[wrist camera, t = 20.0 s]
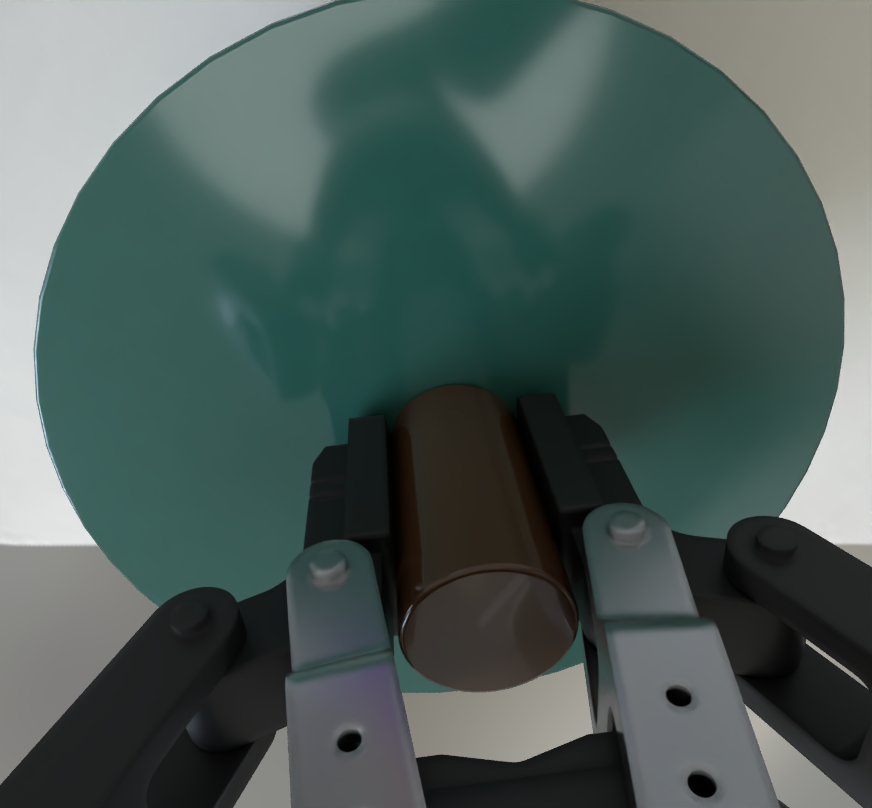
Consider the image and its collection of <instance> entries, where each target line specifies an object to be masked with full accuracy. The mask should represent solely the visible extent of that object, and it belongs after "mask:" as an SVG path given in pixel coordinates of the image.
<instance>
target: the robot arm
mask: <svg viewBox="0 0 872 808" xmlns="http://www.w3.org/2000/svg"><path fill="white" fill-rule="evenodd" d="M516 409H517V425H518V428H519V431H520V434H521V437H522V440H523V443H524V446H525V449H526V452H527V455H528V458H529V461H530V464H531V467H532V470H533V473H534V476H535V479H536V482H537V485H538V488H539V491H540V494H541V497H542V500H543V503H544V506H545V509H546V512H547V515H548V518H549V521H550V524H551V527H552V530H553V533H554V536H555V539H556V542H557V545H558V548H559V551H560V554H561V557H562V560H563V563H564V566H565V569H566V572H567V575H568V578H569V581H570V584H571V587H572V590H573V593H574V596H575V599H576V602H577V606H578V609H579V620H580V623H581V649H582V656H583V663H584V670H585V677H586V684H587V692H588V699H589V706H590V713H591V720H592V728H593V734H588V735H586V736H583V737H581V738H578V739H576V740H573V741H571V742H569V743H566V744H564V745H561V746H559V747H557V748H554V749H551V750H549V751H547V752H544V753H542V754H539V755H537V756H535V757H532V758H530V759H527V760H525V761H521V762H513V763H512V762H502V761H494V760H485V759H476V758H467V757H459V756H450V755H435V756H427V757H419V758H416V757H415V752H414V748H413V743H412V738H411V734H410V730H409V725H408V721H407V715H406V711H405V706H404V702H403V697H402V692H401V688H400V683H399V678H398V674H397V669H396V665H395V660H394V636H398V623H397V600H396V558H395V537H394V516H393V495H392V474H391V453H390V437H389V430H388V424H387V419H386V415H385V414H380V415H372V416H364V417H356V418H349V422H348V444H341V445H334V446H326V447H325V448H324V449H323V450H322V452H321V453H320V454H319V456H318V457H317V459H316V460H315V461H314V463H313V467H312V476H311V485H310V494H309V497H310V499H309V503H308V512H307V520H306V529H305V538H304V547H303V551H302V552H301V553H300V554H298V555H297V556H296V557H295V558H294V560H293V561H292V562H291V564H290V566H289V567H288V570H287V573H286V579H285V580H284V581H283V582H281V583H280V584H279V585H277V586H275V587H273V588H272V589H270V590H267V591H265V592H263V593H260V594H258V595H255V596H252V597H250V598H247V599H245V600H242V601H239V602H237V601H236V599H235V598H234V596H233V595H232V594H231V593H229V592H228V591H226V590H224V589H221V588H216V587H200V588H195V589H190V590H187V591H185V592H182V593H180V594H178V595H176V596H174V597H172V598H171V599H169V600H168V601H166V602H165V603H164V604H162V605H161V606H160V607H159V608H158V609H157V610H156V611H155V612H154V613H153V614H152V615H151V617H150V618H149V619H148V620H147V621H146V622H145V623H144V624H143V626H142V627H141V628H140V629H139V630H138V631H137V632H136V633H135V635H134V636H133V637H132V638H131V639H130V640H129V641H128V642H127V644H126V645H125V646H124V647H123V648H122V649H121V650H120V651H119V653H118V654H117V655H116V656H115V657H114V658H113V659H112V660H111V662H110V663H109V664H108V665H107V666H106V667H105V668H104V669H103V671H102V672H101V673H100V674H99V675H98V676H97V677H96V678H95V679H94V681H93V682H92V683H91V684H90V685H89V686H88V687H87V688H86V689H85V691H84V692H83V693H82V694H81V695H80V696H79V698H78V699H77V700H76V701H75V702H74V703H73V704H72V705H71V706H70V707H69V709H68V710H67V711H66V712H65V713H64V714H63V715H62V717H61V718H60V719H59V720H58V721H57V722H56V723H55V724H54V725H53V727H52V728H51V729H50V730H49V731H48V732H47V733H46V734H45V736H44V737H43V738H42V739H41V740H40V741H39V742H38V743H37V744H36V746H35V747H34V748H33V749H32V750H31V751H30V752H29V754H28V755H27V756H26V757H25V758H24V759H23V760H22V761H21V763H20V764H19V765H18V766H17V767H16V768H15V769H14V770H13V771H12V772H11V774H10V775H9V776H8V777H7V778H6V779H5V780H4V781H3V783H2V784H1V785H0V808H233V807H234V805H235V803H236V802H237V800H238V799H239V797H240V795H241V793H242V792H243V790H244V789H245V787H246V785H247V783H248V781H249V780H250V779H251V777H252V775H253V774H254V772H255V770H256V769H257V767H258V765H259V764H260V762H261V760H262V759H263V757H264V755H265V754H266V752H267V750H268V749H269V747H270V745H271V744H272V742H273V740H274V737H275V734H276V731H277V730H279V729H282V728H284V727H286V726H287V733H288V752H289V772H290V791H291V808H789V807H787V806H786V805H785V804H784V803H782V802H781V801H780V800H778V799H777V797H776V794H775V791H774V788H773V785H772V782H771V779H770V777H769V774H768V771H767V768H766V765H765V763H764V759H763V757H762V754H761V751H760V748H759V745H758V742H757V739H756V736H755V733H754V731H753V728H752V725H751V722H750V720H749V716H748V713H747V711H746V708H745V705H746V706H748V707H749V708H750V709H751V710H752V711H753V712H754V713H755V714H757V715H758V716H759V717H760V718H761V719H762V720H764V721H765V722H766V723H767V724H768V725H769V726H770V727H772V728H773V729H774V730H775V731H776V732H777V733H778V734H780V735H781V736H782V737H783V738H784V739H785V740H786V741H788V742H789V743H790V744H791V745H792V746H793V747H794V748H795V749H797V750H798V751H799V752H800V753H801V754H802V755H803V756H805V757H806V758H807V759H808V760H809V761H810V762H811V763H813V764H814V765H815V766H816V767H817V768H818V769H820V770H821V771H822V772H823V773H824V774H825V775H827V776H828V777H829V778H830V779H831V780H832V781H833V782H834V783H836V784H837V785H838V786H839V787H840V788H841V789H843V790H844V791H845V792H846V793H847V794H848V795H849V796H850V797H852V798H853V799H854V800H855V801H856V802H857V803H858V804H860V805H861V806H862V807H863V808H872V567H870V566H869V565H867V564H865V563H864V562H862V561H860V560H859V559H857V558H855V557H854V556H852V555H850V554H849V553H847V552H845V551H844V550H842V549H840V548H839V547H837V546H835V545H834V544H832V543H831V542H829V541H827V540H826V539H824V538H822V537H821V536H819V535H817V534H816V533H814V532H812V531H811V530H809V529H807V528H806V527H804V526H802V525H800V524H798V523H795V522H793V521H790V520H787V519H784V518H779V517H774V516H753V517H748V518H745V519H742V520H740V521H738V522H736V523H735V524H734V525H733V526H732V527H731V528H730V529H729V531H728V533H727V539H721V538H711V537H701V536H693V535H687V534H683V533H679V532H676V531H673V530H671V529H670V526H669V524H668V523H667V521H666V520H665V519H664V518H663V517H662V516H661V515H660V514H658V513H657V512H655V511H653V510H651V509H649V508H647V507H644V506H643V505H642V503H641V501H640V500H639V498H638V496H637V494H636V492H635V490H634V488H633V486H632V484H631V482H630V480H629V478H628V476H627V474H626V473H625V471H624V469H623V467H622V465H621V463H620V461H619V460H618V459H617V455H616V453H615V451H614V449H613V447H612V446H611V445H610V442H609V440H608V438H607V436H606V434H605V432H604V430H603V428H602V427H601V426H600V425H599V424H597V423H596V422H595V421H593V420H592V419H590V418H589V417H588V416H586V415H585V414H578V415H571V416H565V415H564V412H563V410H562V408H561V406H560V403H559V401H558V399H557V397H556V395H555V393H547V394H539V395H531V396H523V397H517V402H516ZM806 639H807V640H809V641H810V642H811V643H813V644H814V645H816V646H817V647H818V648H820V649H821V650H823V651H824V652H825V653H826V654H828V655H829V656H830V657H832V658H833V659H835V660H836V661H837V662H839V663H840V664H841V665H843V666H844V667H846V668H847V669H848V670H850V671H851V672H853V673H854V674H855V675H856V676H857V677H859V678H860V679H861V680H862V681H863V683H864V684H865V685H866V686H867V687H868V689H869V690H868V689H867V688H865V687H864V686H863V685H861V684H860V683H859V682H857V681H856V680H855V679H853V678H852V677H851V676H849V675H848V674H847V673H845V672H844V671H842V670H841V669H840V668H838V667H837V666H835V665H834V664H833V663H832V662H830V661H829V660H828V659H826V658H825V657H823V656H822V655H821V654H819V653H818V652H817V651H815V650H814V649H813V648H811V647H810V646H809V645H807V644H806ZM744 704H745V705H744Z"/></svg>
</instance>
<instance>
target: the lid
mask: <svg viewBox="0 0 872 808" xmlns="http://www.w3.org/2000/svg"><path fill="white" fill-rule="evenodd" d="M843 349H844V293H843V286H842V279H841V273H840V266H839V259H838V253H837V249H836V245H835V242H834V239H833V236H832V233H831V230H830V227H829V224H828V221H827V217H826V214H825V211H824V208H823V205H822V202H821V200H820V198H819V196H818V194H817V192H816V190H815V188H814V186H813V184H812V182H811V181H810V179H809V177H808V175H807V173H806V171H805V169H804V167H803V165H802V163H801V161H800V159H799V157H798V155H797V154H796V153H795V151H794V150H793V149H792V147H791V146H790V145H789V143H788V142H787V141H786V139H785V138H784V137H783V135H782V134H781V133H780V131H779V130H778V129H777V127H776V126H775V125H774V123H773V122H772V121H771V119H770V118H769V117H768V115H767V114H766V113H765V111H764V110H763V109H762V108H760V107H759V106H758V105H757V104H756V103H755V102H754V101H753V100H752V99H751V98H750V97H749V96H748V95H747V94H746V93H745V92H744V91H743V90H741V89H740V88H739V87H738V86H737V85H736V84H735V83H734V82H733V81H732V80H731V79H730V78H729V77H728V76H727V75H726V74H725V73H724V72H722V71H721V70H720V69H718V68H717V67H715V66H714V65H712V64H711V63H709V62H708V61H706V60H705V59H703V58H702V57H700V56H699V55H697V54H696V53H694V52H693V51H691V50H690V49H688V48H687V47H686V46H684V45H683V44H681V43H680V42H678V41H677V40H675V39H674V38H672V37H670V36H668V35H666V34H664V33H662V32H660V31H657V30H655V29H653V28H651V27H649V26H646V25H644V24H642V23H640V22H638V21H636V20H633V19H631V18H629V17H627V16H625V15H622V14H620V13H618V12H616V11H614V10H611V9H607V8H604V7H600V6H597V5H593V4H589V3H586V2H582V1H579V0H335V1H332V2H330V3H327V4H324V5H321V6H318V7H316V8H313V9H310V10H307V11H304V12H301V13H299V14H296V15H293V16H290V17H287V18H285V19H282V20H279V21H276V22H274V23H272V24H270V25H268V26H266V27H264V28H262V29H260V30H259V31H257V32H255V33H253V34H251V35H249V36H247V37H246V38H244V39H242V40H240V41H238V42H236V43H234V44H233V45H231V46H229V47H227V48H225V49H223V50H221V51H220V52H218V53H216V54H214V55H212V56H210V57H209V58H208V59H206V60H205V61H204V62H202V63H201V64H200V65H198V66H197V67H196V68H194V69H193V70H192V71H190V72H189V73H188V74H187V75H185V76H184V77H183V78H181V79H180V80H179V81H177V82H176V83H175V84H173V85H172V86H171V87H169V88H168V89H167V90H165V91H164V92H163V93H162V94H160V95H159V96H158V97H156V98H155V99H154V101H153V102H152V103H151V104H150V105H149V106H148V107H147V108H146V109H145V110H144V111H143V112H142V113H141V114H140V115H139V116H138V117H137V118H136V119H135V120H134V121H133V122H132V124H131V125H130V126H129V127H128V128H127V129H126V130H125V131H124V132H123V133H122V134H121V135H120V136H119V137H118V138H117V139H116V140H115V141H114V142H113V143H112V145H111V146H110V148H109V149H108V151H107V152H106V154H105V155H104V156H103V158H102V159H101V161H100V162H99V164H98V165H97V167H96V168H95V170H94V171H93V172H92V174H91V175H90V177H89V178H88V180H87V181H86V183H85V184H84V186H83V187H82V188H81V190H80V191H79V193H78V195H77V197H76V199H75V201H74V203H73V205H72V208H71V210H70V212H69V214H68V216H67V218H66V220H65V223H64V225H63V227H62V229H61V231H60V233H59V235H58V237H57V240H56V242H55V244H54V246H53V250H52V254H51V257H50V261H49V264H48V268H47V271H46V275H45V279H44V282H43V286H42V289H41V293H40V296H39V304H38V313H37V322H36V331H35V340H34V366H35V384H36V400H37V405H38V409H39V414H40V419H41V423H42V428H43V432H44V437H45V442H46V446H47V449H48V451H49V454H50V457H51V459H52V462H53V464H54V467H55V470H56V472H57V475H58V477H59V480H60V483H61V485H62V488H63V490H64V492H65V493H66V495H67V497H68V499H69V501H70V502H71V504H72V506H73V508H74V510H75V511H76V513H77V515H78V517H79V518H80V520H81V522H82V524H83V526H84V527H85V529H86V530H87V531H88V533H89V534H90V535H91V537H92V538H93V539H94V541H95V542H96V543H97V545H98V546H99V547H100V549H101V550H102V551H103V552H104V554H105V555H106V556H107V558H108V559H109V560H110V562H111V563H112V564H113V565H114V566H115V567H116V568H117V569H118V570H119V571H120V572H121V573H122V574H123V575H124V576H125V577H126V578H127V579H128V580H129V581H130V582H131V583H132V584H133V585H134V586H135V587H136V588H137V589H138V590H139V591H140V592H141V593H142V594H143V595H144V596H146V597H147V598H148V599H149V600H151V601H152V602H153V603H155V604H156V605H157V606H158V607H160V606H161V605H162V604H164V603H165V602H166V601H168V600H169V599H171V598H172V597H174V596H176V595H178V594H180V593H182V592H185V591H187V590H190V589H195V588H200V587H216V588H221V589H224V590H226V591H228V592H229V593H231V594H232V595H233V596H234V598H235V599H236V601H237V602H239V601H242V600H245V599H247V598H250V597H252V596H255V595H258V594H260V593H263V592H265V591H267V590H270V589H272V588H273V587H275V586H277V585H279V584H280V583H281V582H283V581H284V580H285V579H286V573H287V570H288V567H289V566H290V564H291V562H292V561H293V560H294V558H295V557H296V556H297V555H298V554H300V553H301V552H302V551H303V547H304V538H305V529H306V520H307V512H308V503H309V499H310V497H309V494H310V485H311V476H312V467H313V463H314V461H315V460H316V459H317V457H318V456H319V454H320V453H321V452H322V450H323V449H324V448H325V447H326V446H334V445H341V444H348V422H349V418H356V417H364V416H372V415H380V414H385V415H386V419H387V424H388V430H389V437H390V453H391V474H392V495H393V516H394V537H395V558H396V600H397V623H398V636H394V660H395V665H396V669H397V674H398V678H399V683H400V688H401V692H402V693H441V692H452V691H463V692H492V691H499V690H505V689H509V688H513V687H516V686H519V685H522V684H525V683H527V682H529V681H532V680H534V679H536V678H538V677H540V676H544V675H547V674H551V673H555V672H558V671H561V670H564V669H567V668H569V667H572V666H575V665H578V664H580V663H583V656H582V649H581V623H580V620H579V609H578V606H577V602H576V599H575V596H574V593H573V590H572V587H571V584H570V581H569V578H568V575H567V572H566V569H565V566H564V563H563V560H562V557H561V554H560V551H559V548H558V545H557V542H556V539H555V536H554V533H553V530H552V527H551V524H550V521H549V518H548V515H547V512H546V509H545V506H544V503H543V500H542V497H541V494H540V491H539V488H538V485H537V482H536V479H535V476H534V473H533V470H532V467H531V464H530V461H529V458H528V455H527V452H526V449H525V446H524V443H523V440H522V437H521V434H520V431H519V428H518V425H517V409H516V402H517V397H523V396H531V395H539V394H547V393H555V395H556V397H557V399H558V401H559V403H560V406H561V408H562V410H563V412H564V415H565V416H571V415H578V414H585V415H586V416H588V417H589V418H590V419H592V420H593V421H595V422H596V423H597V424H599V425H600V426H601V427H602V428H603V430H604V432H605V434H606V436H607V438H608V440H609V442H610V445H611V446H612V447H613V449H614V451H615V453H616V455H617V459H618V460H619V461H620V463H621V465H622V467H623V469H624V471H625V473H626V474H627V476H628V478H629V480H630V482H631V484H632V486H633V488H634V490H635V492H636V494H637V496H638V498H639V500H640V501H641V503H642V505H643V506H644V507H647V508H649V509H651V510H653V511H655V512H657V513H658V514H660V515H661V516H662V517H663V518H664V519H665V520H666V521H667V523H668V524H669V526H670V529H671V530H673V531H676V532H679V533H683V534H687V535H693V536H701V537H711V538H721V539H727V533H728V531H729V529H730V528H731V527H732V526H733V525H734V524H735V523H736V522H738V521H740V520H742V519H745V518H748V517H753V516H774V517H779V515H780V514H781V513H782V511H783V510H784V509H785V507H786V506H787V504H788V502H789V501H790V499H791V497H792V496H793V494H794V492H795V491H796V489H797V487H798V486H799V484H800V482H801V481H802V479H803V477H804V476H805V474H806V472H807V470H808V468H809V466H810V464H811V461H812V459H813V457H814V455H815V452H816V450H817V448H818V446H819V444H820V441H821V439H822V437H823V435H824V432H825V429H826V426H827V422H828V419H829V416H830V412H831V409H832V406H833V402H834V399H835V396H836V392H837V388H838V382H839V375H840V369H841V362H842V356H843Z"/></svg>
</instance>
